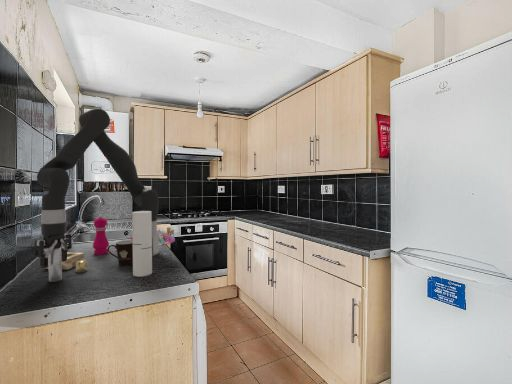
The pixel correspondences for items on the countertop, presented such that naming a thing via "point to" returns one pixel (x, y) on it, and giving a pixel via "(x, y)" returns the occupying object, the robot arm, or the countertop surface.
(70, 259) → the socket block
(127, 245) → the coffee mug
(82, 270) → the short pin
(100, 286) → the countertop surface
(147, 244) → the cylindrical container
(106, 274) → the countertop surface
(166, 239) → the candy landscape model
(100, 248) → the pepper mill
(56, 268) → the long pin
